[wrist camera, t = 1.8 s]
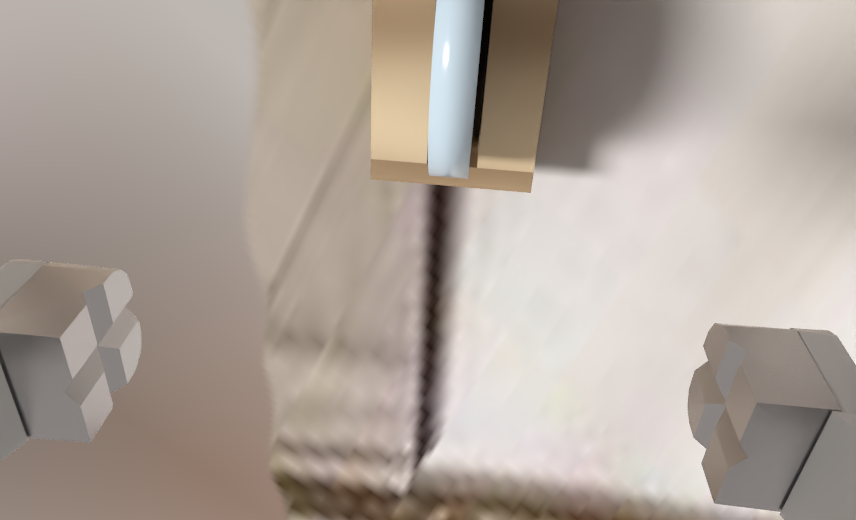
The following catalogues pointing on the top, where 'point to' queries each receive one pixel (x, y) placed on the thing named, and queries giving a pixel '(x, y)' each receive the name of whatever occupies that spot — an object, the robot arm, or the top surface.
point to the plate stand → (502, 96)
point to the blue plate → (453, 86)
